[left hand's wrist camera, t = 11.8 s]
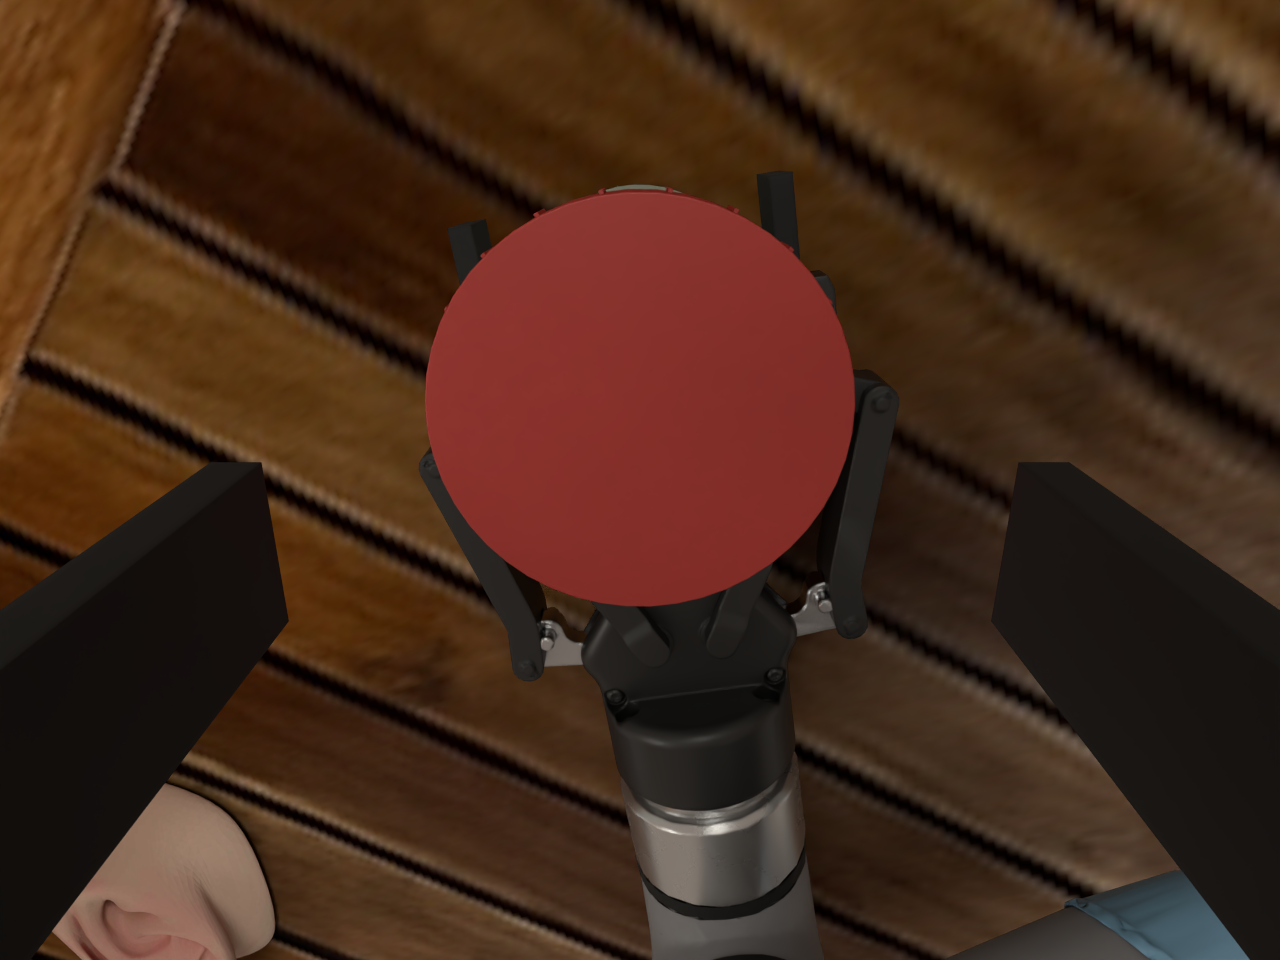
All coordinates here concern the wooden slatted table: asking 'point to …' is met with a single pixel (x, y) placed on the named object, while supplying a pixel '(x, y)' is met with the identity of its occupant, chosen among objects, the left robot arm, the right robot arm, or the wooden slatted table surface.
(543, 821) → the wooden slatted table surface
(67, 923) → the anatomical model
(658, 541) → the lid
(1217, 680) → the left robot arm
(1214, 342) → the wooden slatted table surface
